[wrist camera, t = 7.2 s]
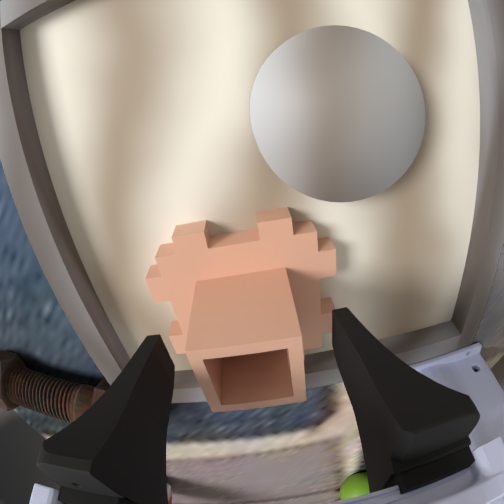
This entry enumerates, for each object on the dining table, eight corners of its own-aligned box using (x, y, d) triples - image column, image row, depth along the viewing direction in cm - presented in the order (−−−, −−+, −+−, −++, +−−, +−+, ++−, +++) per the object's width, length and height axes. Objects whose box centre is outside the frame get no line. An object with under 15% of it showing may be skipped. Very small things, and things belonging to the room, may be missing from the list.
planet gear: (327, 200, 14) (371, 266, 9) (331, 339, 18) (354, 415, 13) (139, 232, 14) (99, 307, 10) (188, 359, 19) (179, 437, 14)
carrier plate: (467, -40, 8) (513, -53, 5) (457, 323, 20) (482, 361, 16) (5, 20, 9) (-46, 16, 5) (130, 378, 21) (118, 424, 17)
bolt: (-13, 331, 21) (133, 370, 22) (-8, 381, 21) (133, 425, 22) (-53, 344, 15) (108, 402, 16) (-43, 401, 15) (113, 464, 16)
